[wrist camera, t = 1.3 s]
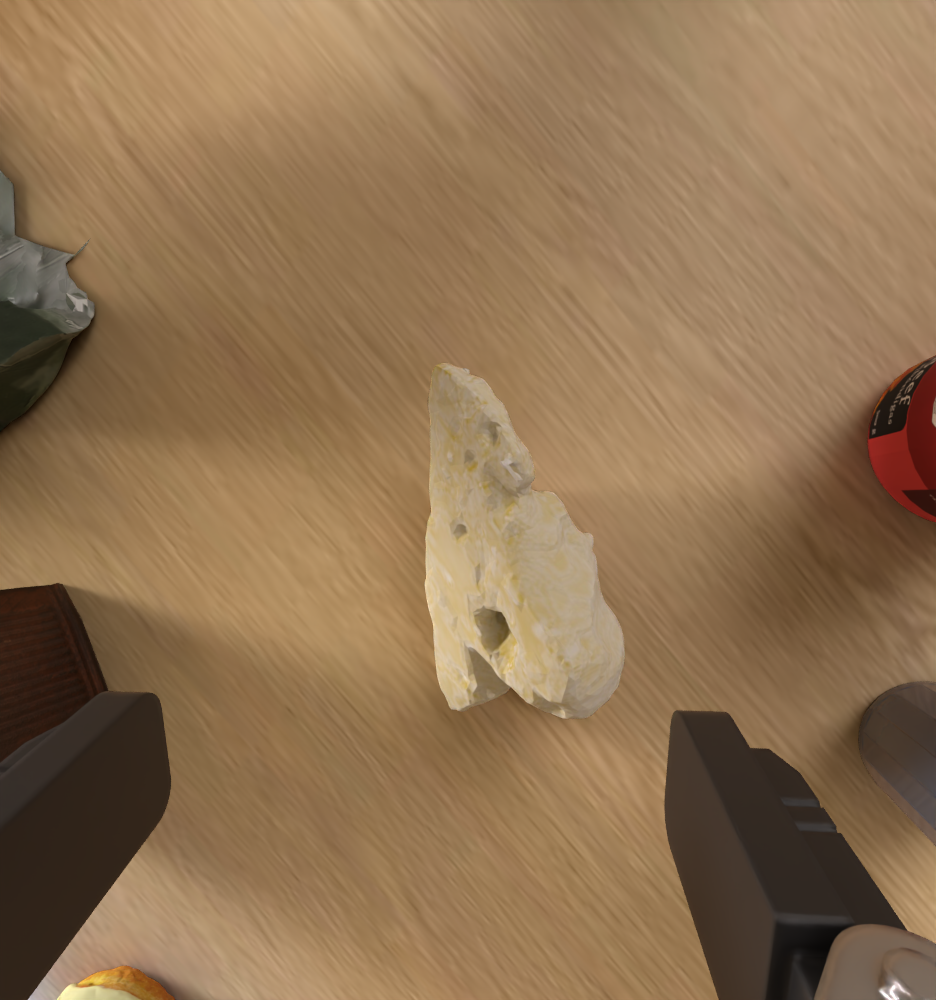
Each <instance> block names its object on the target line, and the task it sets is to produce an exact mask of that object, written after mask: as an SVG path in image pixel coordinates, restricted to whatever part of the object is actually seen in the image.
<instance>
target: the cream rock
mask: <svg viewBox="0 0 936 1000" xmlns="http://www.w3.org/2000/svg"><path fill="white" fill-rule="evenodd" d="M428 409H429V414H430V420H431V425H430V450H431V460H430V468H429V469H430V483H429V496H430V503H431V514H430V517H429V519H428V522H427V533H426V536H425V541H426V561H425V564H426V580H425V583H424V585H425V591H426V597H427V603H428V609H429V612H430V615H431V619H432V622H433V637H434V646H435V651H434V656H435V662H436V672H437V677H438V681H439V685H440V689H441V690H442V692H443V693H444V695H445V697H446V699H447V702H448V704H449V707H450V708H451V709H452V710H455V709H457V710H458V711H461V712H463V711H466V710H468V709H470V708H472V707H473V706H477V705H480V704H483V703H485V702H488V701H491V700H493V699H496V698H498V697H500V696H501V695H503V694H505V693H507V692H508V690H509V689H510V687H511V688H512V689H514V690H515V691H516V692H517V693H518V694H519V695H520V696H521V697H522V698H523V699H524V700H525V701H526V702H527V703H529V704H531V705H532V706H534V707H536V708H538V709H540V710H542V711H545V712H548V713H551V714H553V715H555V716H557V717H560V718H564V719H583V718H587V717H589V716H591V715H592V714H594V713H595V712H596V711H597V710H598V709H599V708H600V707H601V706H602V705H603V704H605V703H606V702H607V701H608V700H609V699H610V697H611V696H612V694H613V692H614V691H615V690H616V689H617V688H618V686H619V682H620V677H621V673H622V669H623V666H624V657H625V650H624V638H623V633H622V629H621V626H620V624H619V622H618V619H617V617H616V616H615V614H614V613H613V611H612V610H611V609H610V608H609V606H608V605H607V604H606V602H605V600H604V598H603V595H602V592H601V589H600V583H599V579H598V569H597V561H596V556H595V554H594V552H593V551H592V549H593V545H594V541H593V536H592V535H591V534H590V533H588V532H585V533H582V532H580V531H579V530H578V529H577V527H576V526H575V525H574V523H573V522H572V520H571V518H570V516H569V514H568V512H567V510H566V508H565V506H564V504H563V502H562V501H561V500H560V499H559V498H558V496H557V495H556V494H554V493H553V492H550V491H541V492H540V491H535V490H532V488H531V483H532V482H533V481H534V479H535V468H534V465H533V460H532V457H531V454H530V452H529V451H528V449H527V448H526V447H525V445H524V444H523V443H522V441H521V440H520V439H519V437H518V436H517V435H516V433H515V431H514V428H513V426H512V423H511V420H510V417H509V414H508V412H507V410H506V408H505V406H504V404H503V403H502V402H501V401H500V400H499V399H498V398H497V397H496V396H495V394H494V392H493V391H492V389H491V388H490V386H489V385H488V384H487V382H486V381H485V380H484V379H482V378H480V377H477V376H474V375H470V372H469V369H466V368H459V367H456V366H454V365H451V364H448V363H440V364H438V365H437V366H435V367H434V369H433V372H432V375H431V387H430V391H429V397H428Z"/></svg>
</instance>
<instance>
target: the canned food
mask: <svg viewBox="0 0 936 1000" xmlns="http://www.w3.org/2000/svg"><path fill="white" fill-rule="evenodd" d="M867 443H868V453H869V458H870V461H871V465H872V468H873V471H874V473H875V474H876V476H877V478H878V480H879V481H880V483H881V485H882V486H883V487H884V488H885V489H886V491H887V492H888V493H889V494H890V495H891V496H892V497H893V498H894V499H895V500H896V501H897V502H899V503H900V504H901V505H902V506H904V507H905V508H906V509H908V510H909V511H910V512H912V513H914V514H916V515H918V516H920V517H922V518H924V519H926V520H930V521H933V522H936V356H934V357H931V358H929V359H927V360H925V361H923V362H921V363H919V364H917V365H915V366H913V367H911V368H910V369H908V370H907V371H906V372H904V373H903V374H902V375H900V376H899V377H898V378H897V379H895V380H894V382H893V383H892V384H891V385H890V386H889V387H888V389H887V390H886V391H885V392H884V393H883V395H882V397H881V399H880V400H879V402H878V404H877V406H876V407H875V410H874V412H873V415H872V418H871V421H870V424H869V430H868V440H867Z"/></svg>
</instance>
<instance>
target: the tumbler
mask: <svg viewBox="0 0 936 1000" xmlns="http://www.w3.org/2000/svg"><path fill="white" fill-rule="evenodd" d="M859 750H860V754H861V758H862V760H863V763H864V765H865V767H866V769H867V771H868V773H869V774H870V775H871V777H872V778H873V780H874V781H875V783H876V784H877V785H878V786H879V787H880V788H881V789H882V790H883V791H884V792H885V793H886V794H887V795H888V796H889V797H890V798H891V800H892V801H893V802H894V803H895V804H896V805H897V806H898V807H899V808H900V809H901V810H902V811H903V812H904V813H905V814H906V815H907V816H908V817H909V819H910V820H911V821H912V822H913V823H914V824H915V825H916V826H917V827H918V828H919V829H920V830H921V831H922V832H923V833H924V834H925V835H926V836H927V838H928V839H929V840H930V841H931V842H932V843H933V844H934V845H935V846H936V682H911V683H907V684H903V685H900V686H897V687H894V688H892V689H890V690H889V691H887V692H885V693H884V694H882V695H881V696H879V697H878V698H877V699H876V700H875V701H874V702H873V703H872V704H871V706H870V707H869V708H868V710H867V711H866V713H865V715H864V717H863V719H862V722H861V725H860V730H859Z"/></svg>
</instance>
